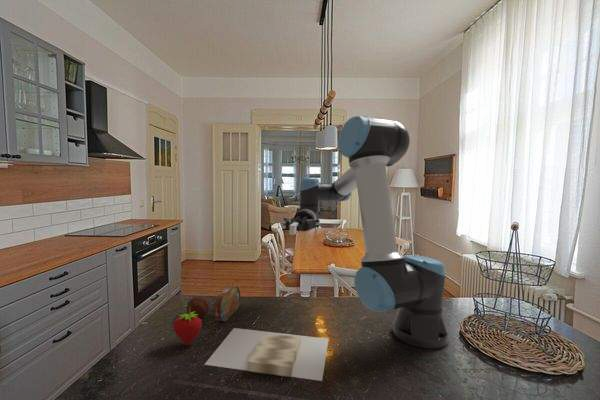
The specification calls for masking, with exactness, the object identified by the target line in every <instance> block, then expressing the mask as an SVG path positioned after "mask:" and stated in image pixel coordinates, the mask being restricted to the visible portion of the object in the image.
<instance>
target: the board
mask: <svg viewBox="0 0 600 400" xmlns="http://www.w3.org/2000/svg"><path fill="white" fill-rule="evenodd" d="M300 346H301V337H294V336H285V335H276V334H268V333H264V335H263V337H262V338H261V340H260V342H259V344H258V345H257V347H256V349H255V350H254V352H253V354H252V355H251V357H250V359H249V361H248V371H247V372H249V373H256V374H257V373H258V374H265V375H273V376H279V377H285V378H291V374H292V371H293V368H294V365H295V361H296V358H297V355H298V352H299V349H300Z"/></svg>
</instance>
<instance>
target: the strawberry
mask: <svg viewBox="0 0 600 400" xmlns="http://www.w3.org/2000/svg"><path fill="white" fill-rule="evenodd" d="M194 312H195V311H194ZM194 312H191V313H189V314H188V313H182V314H178V315H177V316H178V317H177V318H176V319H175V320H174V321H173V325H172V327H173V330H174V334H175V335H176V337H178V339H179V340H180V341H181V342H182V343H183V344H184V345H186V346H190V345H191V344H192V343H193V341H195V339H196V338H197V337H198V336H199V334H200V333H201V330H202V328H203V327H202V326H203V323H202V319H200V318H199V317H197V316H196V315H198V314H193V313H194Z"/></svg>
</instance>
